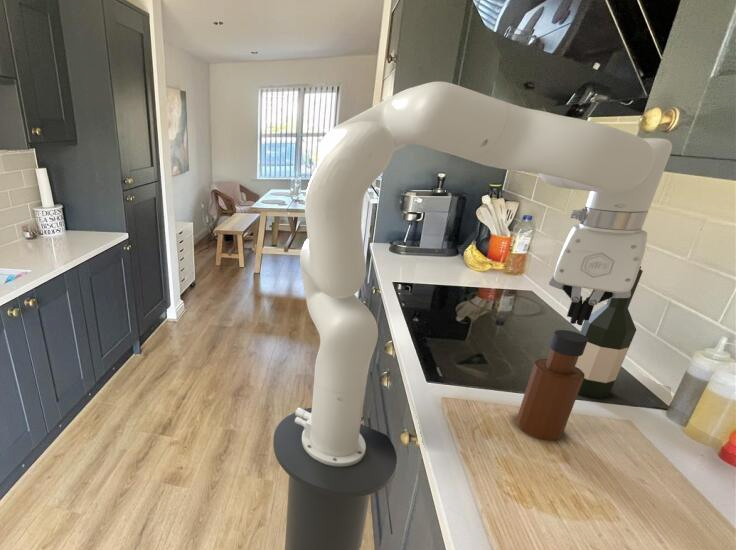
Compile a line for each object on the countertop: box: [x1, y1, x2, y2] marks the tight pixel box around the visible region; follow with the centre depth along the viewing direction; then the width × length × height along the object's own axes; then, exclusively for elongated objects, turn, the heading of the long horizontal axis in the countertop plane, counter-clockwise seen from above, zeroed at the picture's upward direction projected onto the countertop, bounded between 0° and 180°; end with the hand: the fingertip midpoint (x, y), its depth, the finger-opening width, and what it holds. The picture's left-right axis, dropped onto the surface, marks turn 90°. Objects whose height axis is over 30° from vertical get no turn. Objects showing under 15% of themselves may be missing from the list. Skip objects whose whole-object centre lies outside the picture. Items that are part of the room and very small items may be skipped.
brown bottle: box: [515, 348, 584, 441], centre depth 77 cm, size 7×7×18 cm
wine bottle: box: [575, 265, 644, 399], centre depth 87 cm, size 8×8×30 cm
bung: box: [549, 329, 588, 356], centre depth 73 cm, size 5×5×6 cm
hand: (576, 321), depth 71 cm, fingers closed
